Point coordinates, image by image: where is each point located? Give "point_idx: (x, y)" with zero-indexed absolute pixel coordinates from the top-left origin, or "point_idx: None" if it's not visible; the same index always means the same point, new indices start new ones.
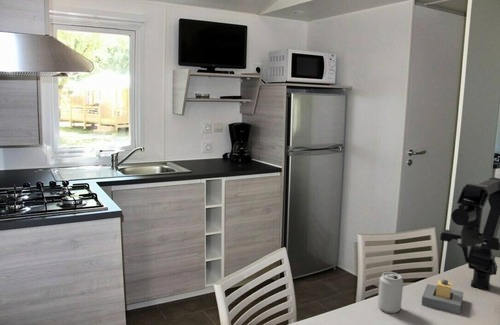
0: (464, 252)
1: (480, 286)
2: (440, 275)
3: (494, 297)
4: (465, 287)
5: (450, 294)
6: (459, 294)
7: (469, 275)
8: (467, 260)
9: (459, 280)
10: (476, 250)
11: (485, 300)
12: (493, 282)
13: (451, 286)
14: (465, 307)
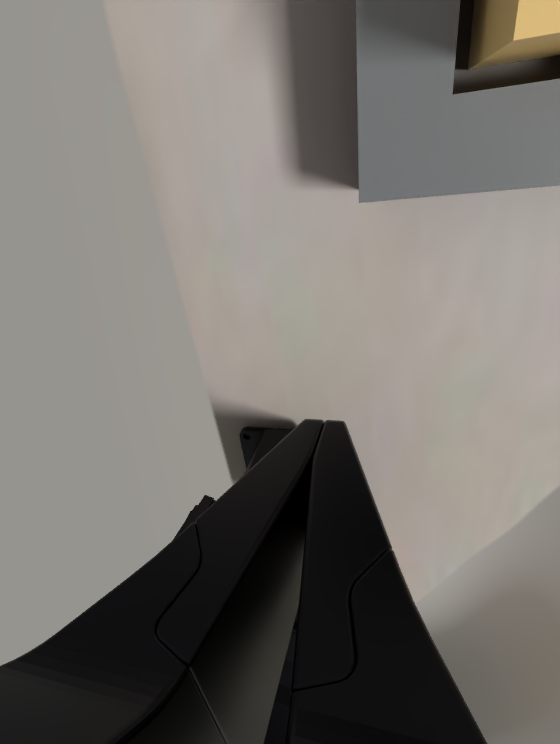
0: (374, 587)
1: (282, 433)
2: (522, 505)
3: (203, 359)
4: (364, 410)
5: (486, 23)
6: (389, 104)
7: None
8: (313, 441)
9: (404, 483)
10: (272, 713)
11: (231, 287)
12: None
13: (504, 29)
14: (326, 34)
